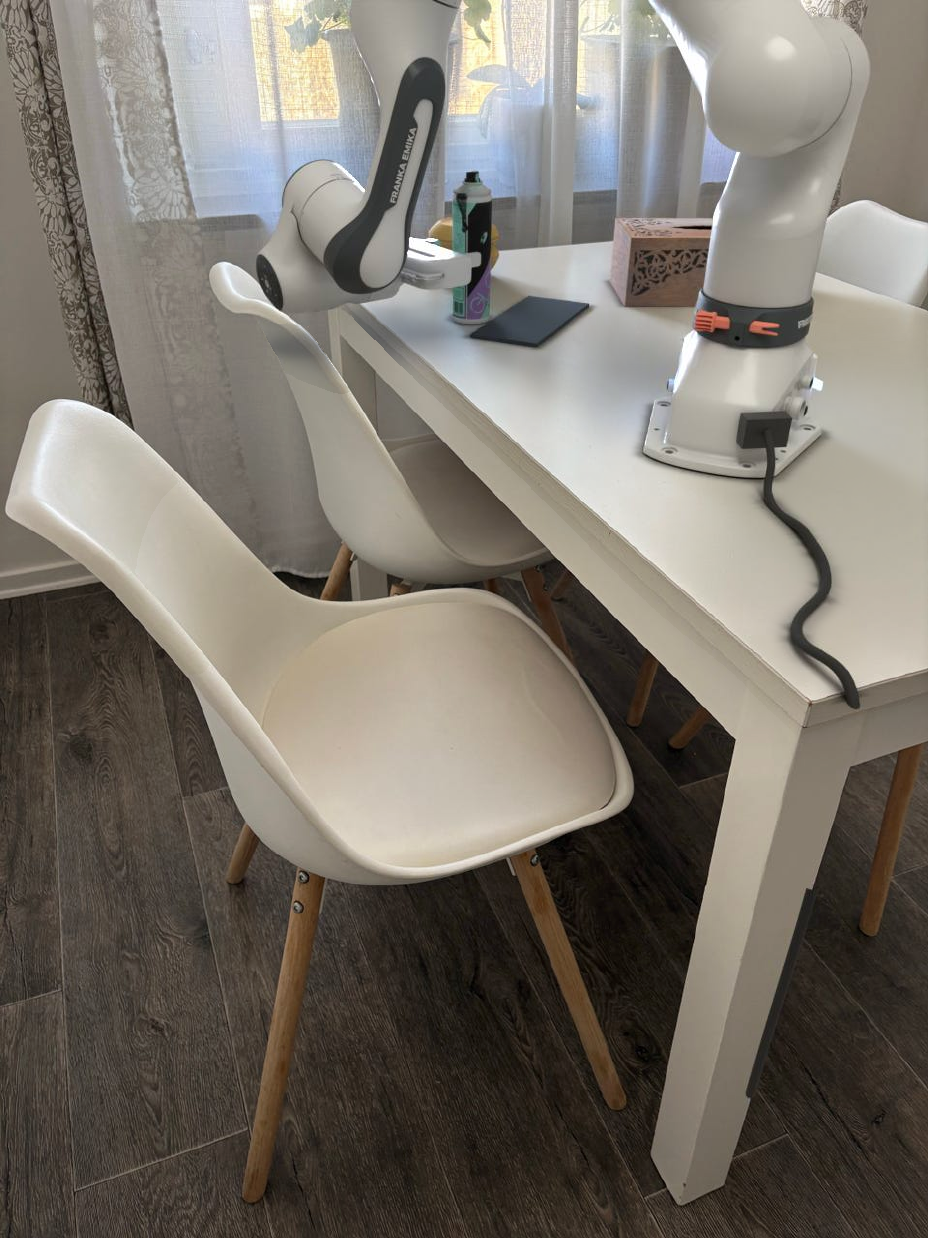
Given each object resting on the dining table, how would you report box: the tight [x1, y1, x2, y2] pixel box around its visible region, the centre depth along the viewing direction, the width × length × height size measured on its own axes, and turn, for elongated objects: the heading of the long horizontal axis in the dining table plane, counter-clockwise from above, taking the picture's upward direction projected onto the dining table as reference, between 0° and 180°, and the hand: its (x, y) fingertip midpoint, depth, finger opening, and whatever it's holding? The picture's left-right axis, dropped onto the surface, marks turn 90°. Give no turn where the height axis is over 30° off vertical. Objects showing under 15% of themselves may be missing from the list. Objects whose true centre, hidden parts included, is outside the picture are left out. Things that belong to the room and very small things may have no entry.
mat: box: [469, 295, 590, 348], centre depth 142 cm, size 22×10×1 cm, turn 155°
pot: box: [428, 216, 500, 271], centre depth 161 cm, size 12×12×10 cm
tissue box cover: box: [609, 217, 713, 307], centre depth 153 cm, size 26×14×10 cm, turn 92°
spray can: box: [451, 170, 493, 325], centre depth 138 cm, size 6×6×20 cm
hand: (457, 251), depth 136 cm, fingers open, 8 cm apart
